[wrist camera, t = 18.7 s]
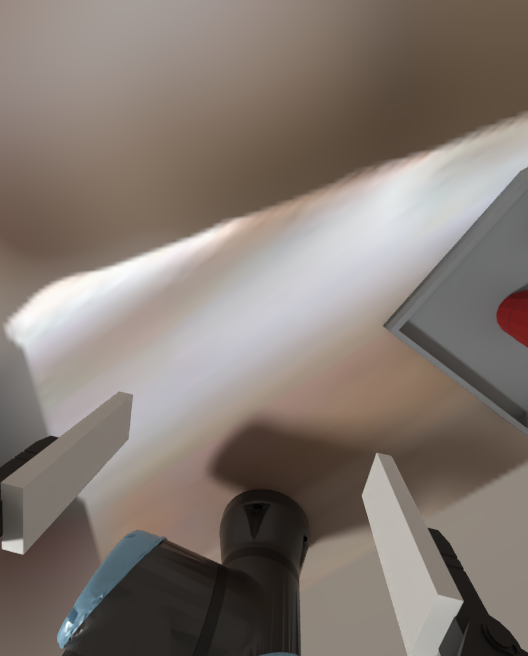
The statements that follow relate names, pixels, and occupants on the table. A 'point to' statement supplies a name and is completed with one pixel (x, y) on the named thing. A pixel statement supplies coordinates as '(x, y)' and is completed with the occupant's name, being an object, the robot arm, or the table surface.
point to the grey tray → (477, 308)
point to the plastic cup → (515, 316)
